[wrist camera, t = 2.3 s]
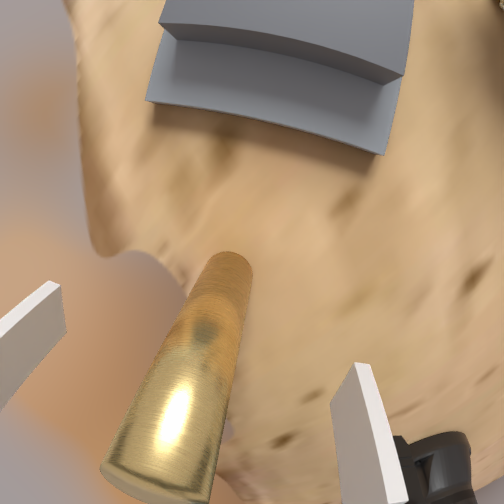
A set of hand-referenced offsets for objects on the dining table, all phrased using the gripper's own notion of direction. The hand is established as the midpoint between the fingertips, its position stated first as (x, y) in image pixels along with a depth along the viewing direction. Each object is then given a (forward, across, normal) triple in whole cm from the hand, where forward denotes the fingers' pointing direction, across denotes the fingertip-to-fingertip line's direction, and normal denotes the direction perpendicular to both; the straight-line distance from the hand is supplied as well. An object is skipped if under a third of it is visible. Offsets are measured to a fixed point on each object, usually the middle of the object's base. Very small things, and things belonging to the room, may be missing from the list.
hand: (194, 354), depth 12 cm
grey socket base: (+9, 0, -20) cm, 22 cm away
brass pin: (+9, 0, 0) cm, 9 cm away
